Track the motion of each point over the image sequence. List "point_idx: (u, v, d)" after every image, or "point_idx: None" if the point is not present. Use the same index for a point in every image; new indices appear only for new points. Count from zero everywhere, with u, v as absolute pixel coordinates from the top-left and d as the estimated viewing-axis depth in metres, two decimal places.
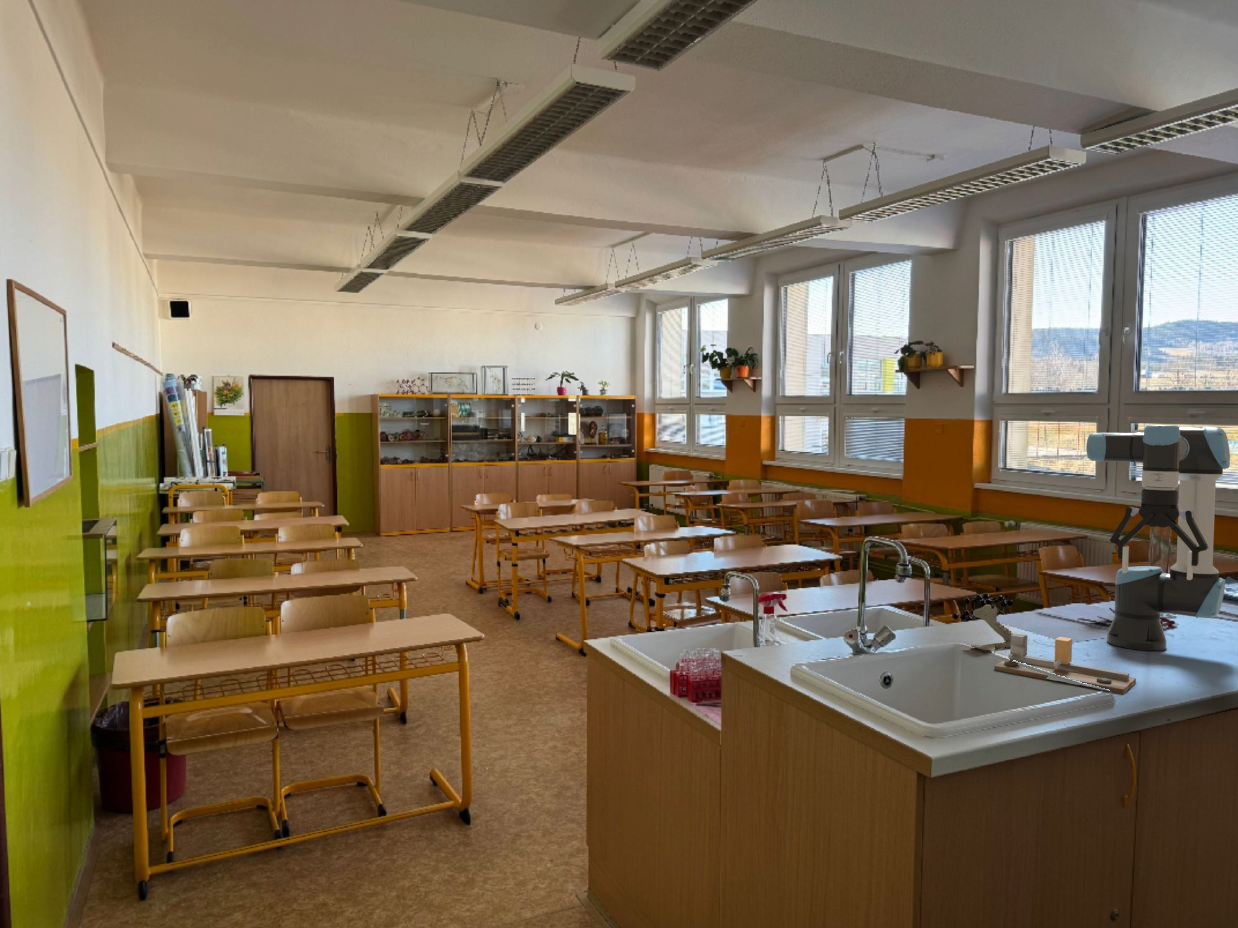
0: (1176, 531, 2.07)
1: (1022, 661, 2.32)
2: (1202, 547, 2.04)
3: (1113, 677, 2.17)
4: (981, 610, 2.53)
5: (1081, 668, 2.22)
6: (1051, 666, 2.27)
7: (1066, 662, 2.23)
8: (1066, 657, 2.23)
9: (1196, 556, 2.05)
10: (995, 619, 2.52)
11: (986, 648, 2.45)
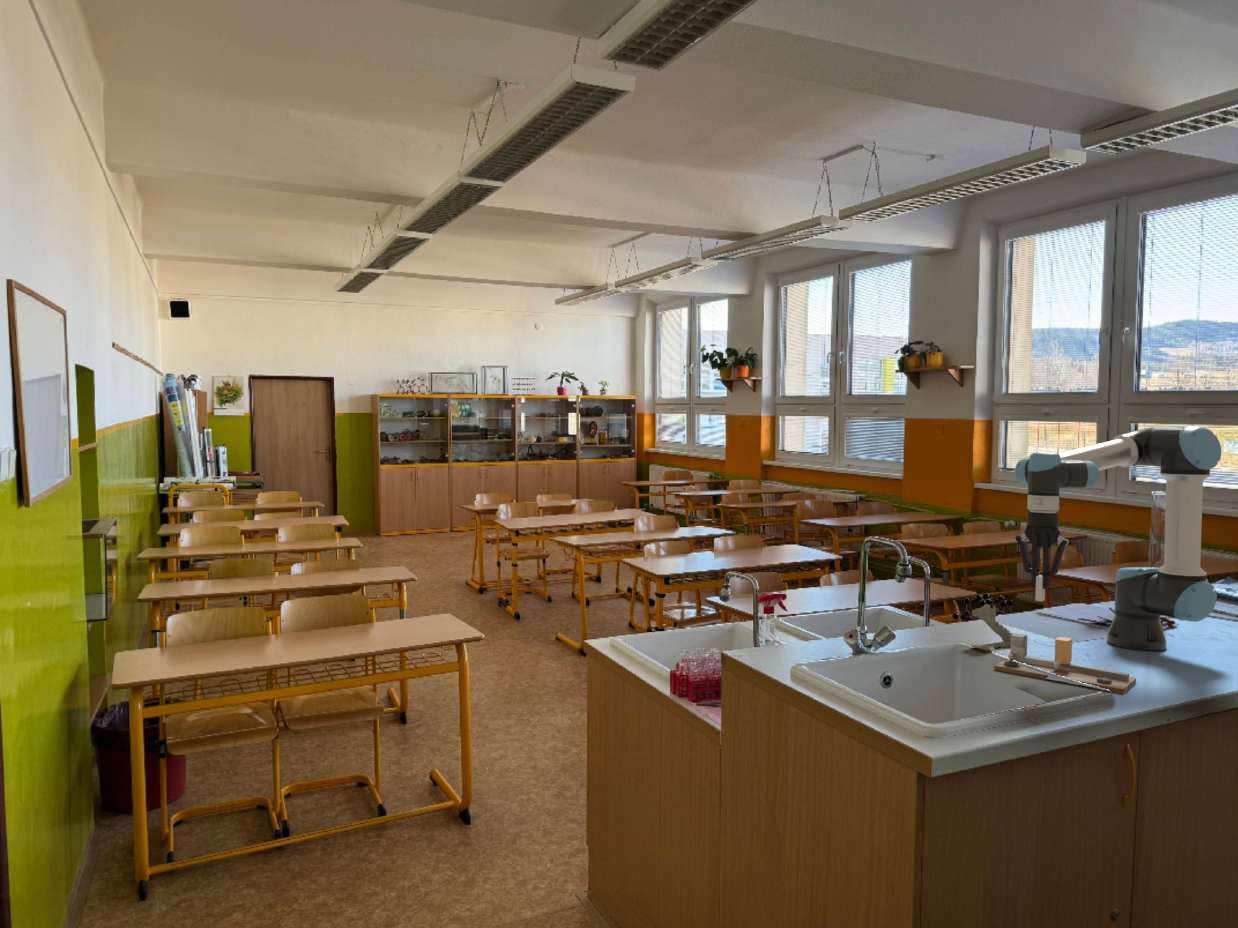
0: (1044, 553, 2.27)
1: (1022, 661, 2.32)
2: (1051, 571, 2.26)
3: (1113, 677, 2.17)
4: (980, 610, 2.53)
5: (1081, 668, 2.22)
6: (1051, 666, 2.27)
7: (1066, 662, 2.23)
8: (1066, 657, 2.23)
9: (1046, 580, 2.27)
10: (994, 619, 2.53)
11: (986, 648, 2.45)
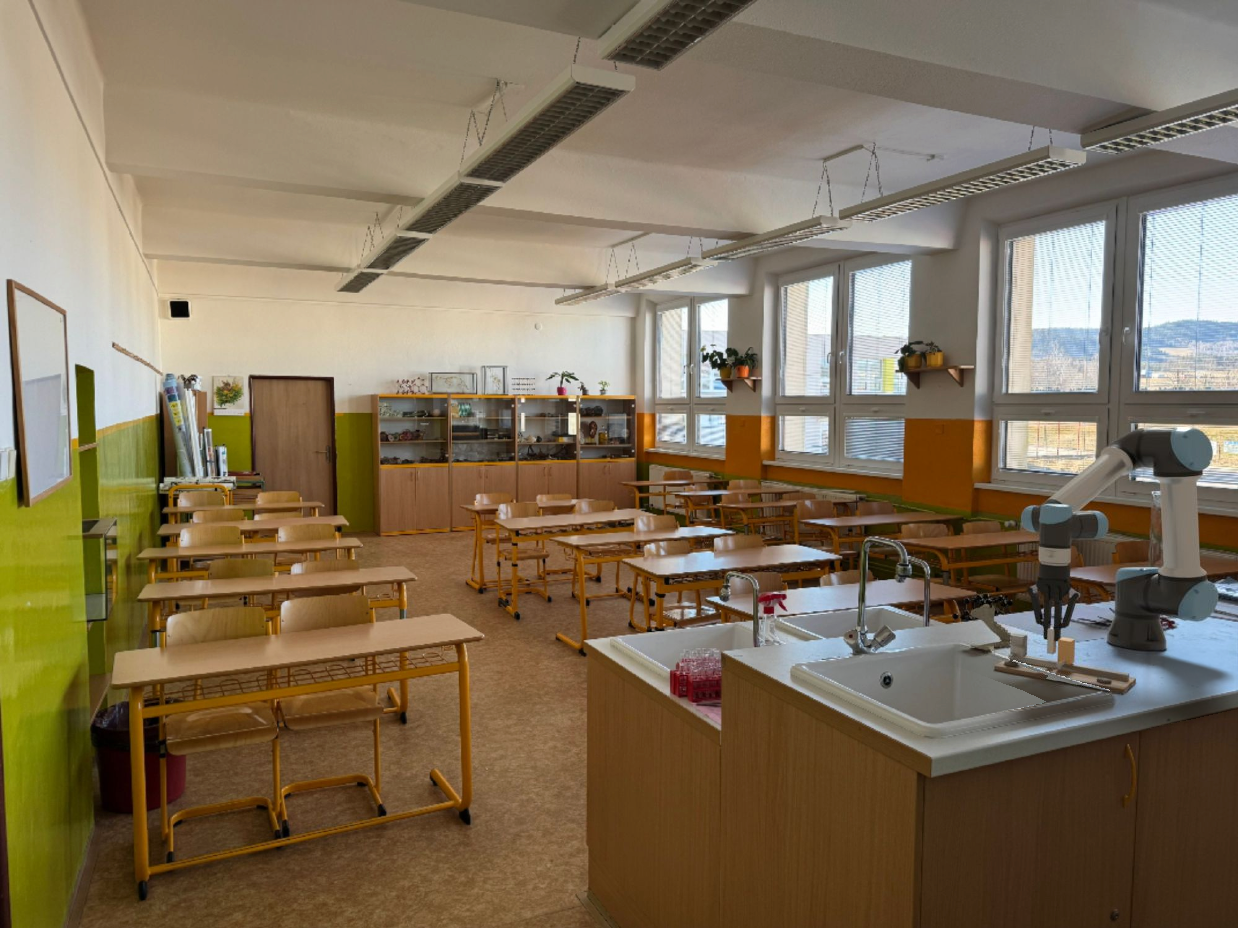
0: (1055, 605, 2.26)
1: (1022, 661, 2.32)
2: (1063, 624, 2.24)
3: (1113, 677, 2.17)
4: (979, 610, 2.53)
5: (1081, 668, 2.22)
6: (1051, 666, 2.27)
7: (1069, 663, 2.23)
8: (1069, 657, 2.23)
9: (1058, 632, 2.26)
10: (992, 618, 2.53)
11: (987, 648, 2.45)
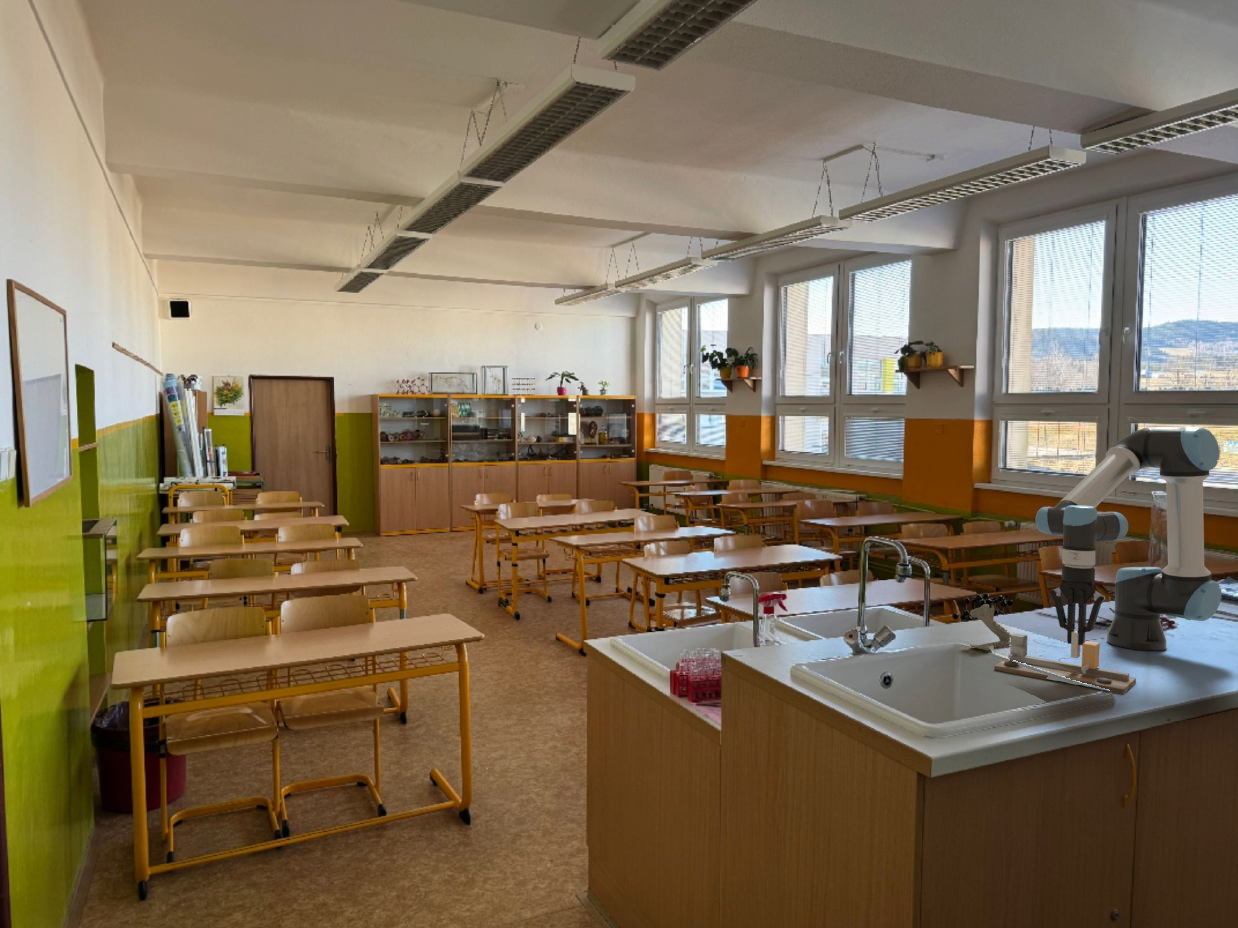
0: (1080, 609, 2.22)
1: (1022, 661, 2.32)
2: (1087, 628, 2.21)
3: (1113, 677, 2.17)
4: (979, 610, 2.53)
5: None
6: (1051, 666, 2.27)
7: (1094, 667, 2.19)
8: (1094, 662, 2.19)
9: (1082, 636, 2.22)
10: (992, 618, 2.53)
11: (987, 648, 2.45)
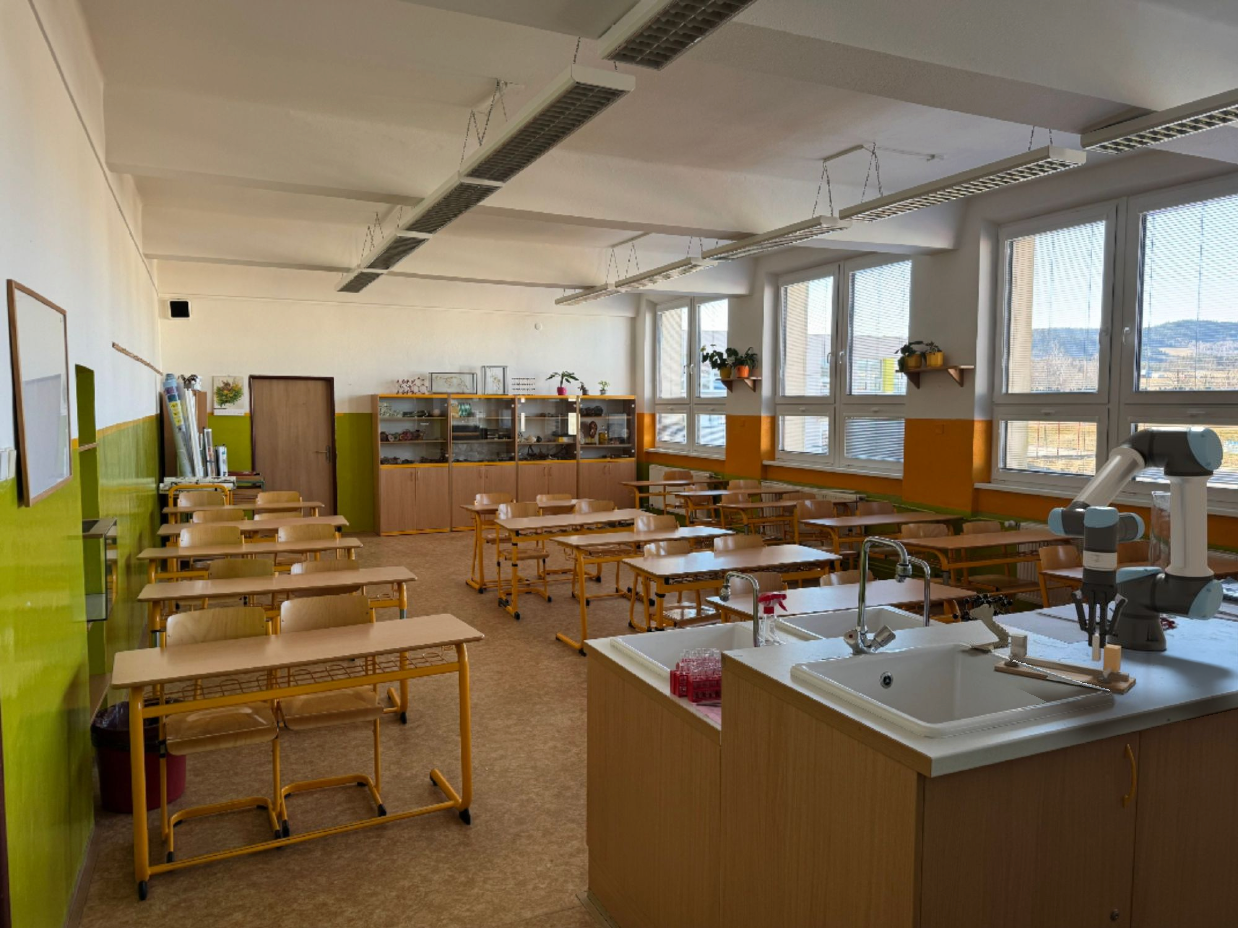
0: (1101, 611, 2.18)
1: (1022, 661, 2.32)
2: (1109, 631, 2.17)
3: (1113, 677, 2.17)
4: (978, 610, 2.53)
5: (1081, 668, 2.22)
6: (1051, 666, 2.27)
7: (1115, 671, 2.16)
8: (1115, 665, 2.16)
9: (1103, 639, 2.19)
10: (991, 618, 2.53)
11: (987, 648, 2.45)
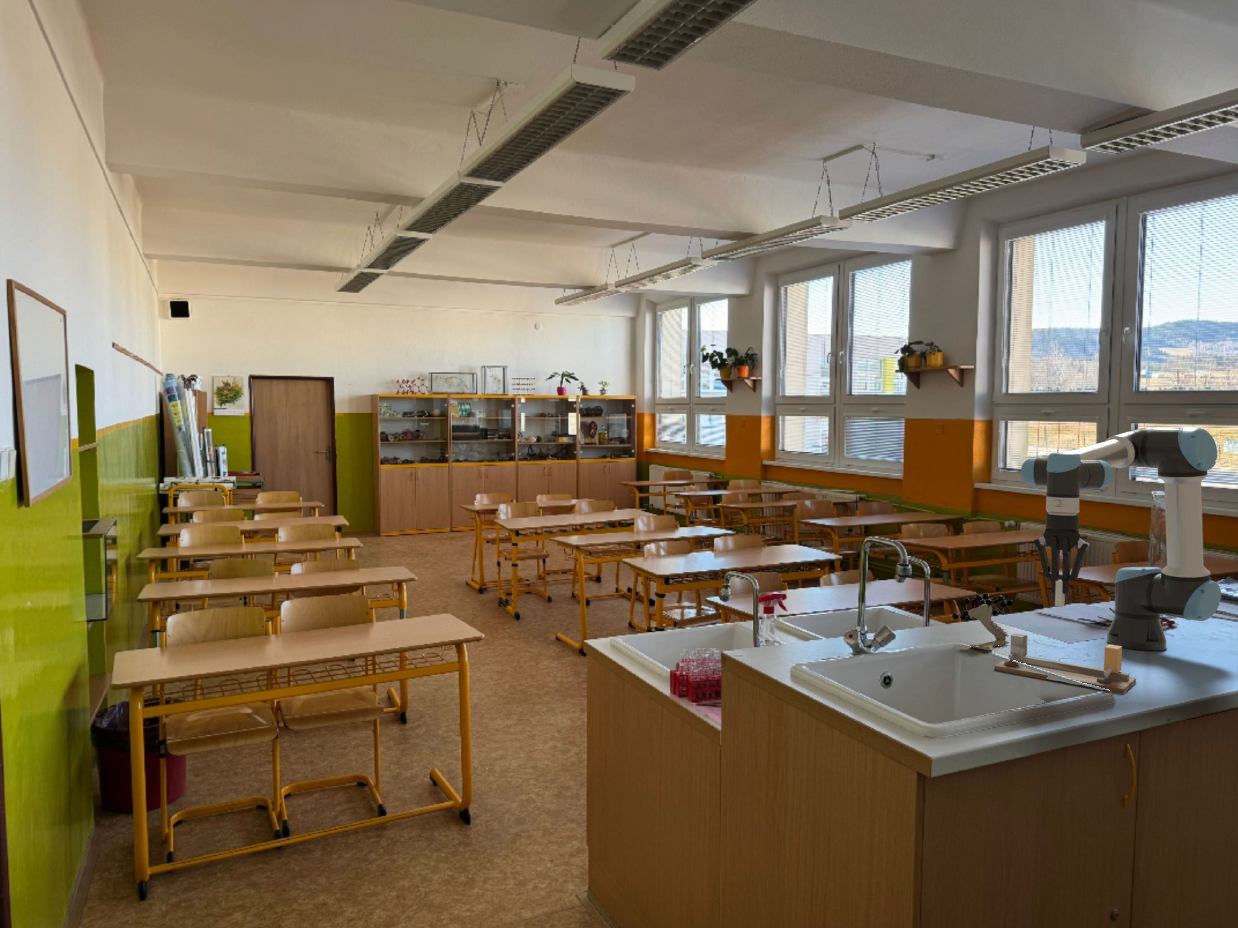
0: (1064, 557, 2.19)
1: (1022, 661, 2.32)
2: (1072, 576, 2.18)
3: (1113, 677, 2.17)
4: (977, 610, 2.53)
5: (1081, 668, 2.22)
6: (1051, 666, 2.27)
7: (1116, 671, 2.16)
8: (1116, 666, 2.16)
9: (1066, 585, 2.19)
10: (989, 618, 2.54)
11: (987, 648, 2.46)
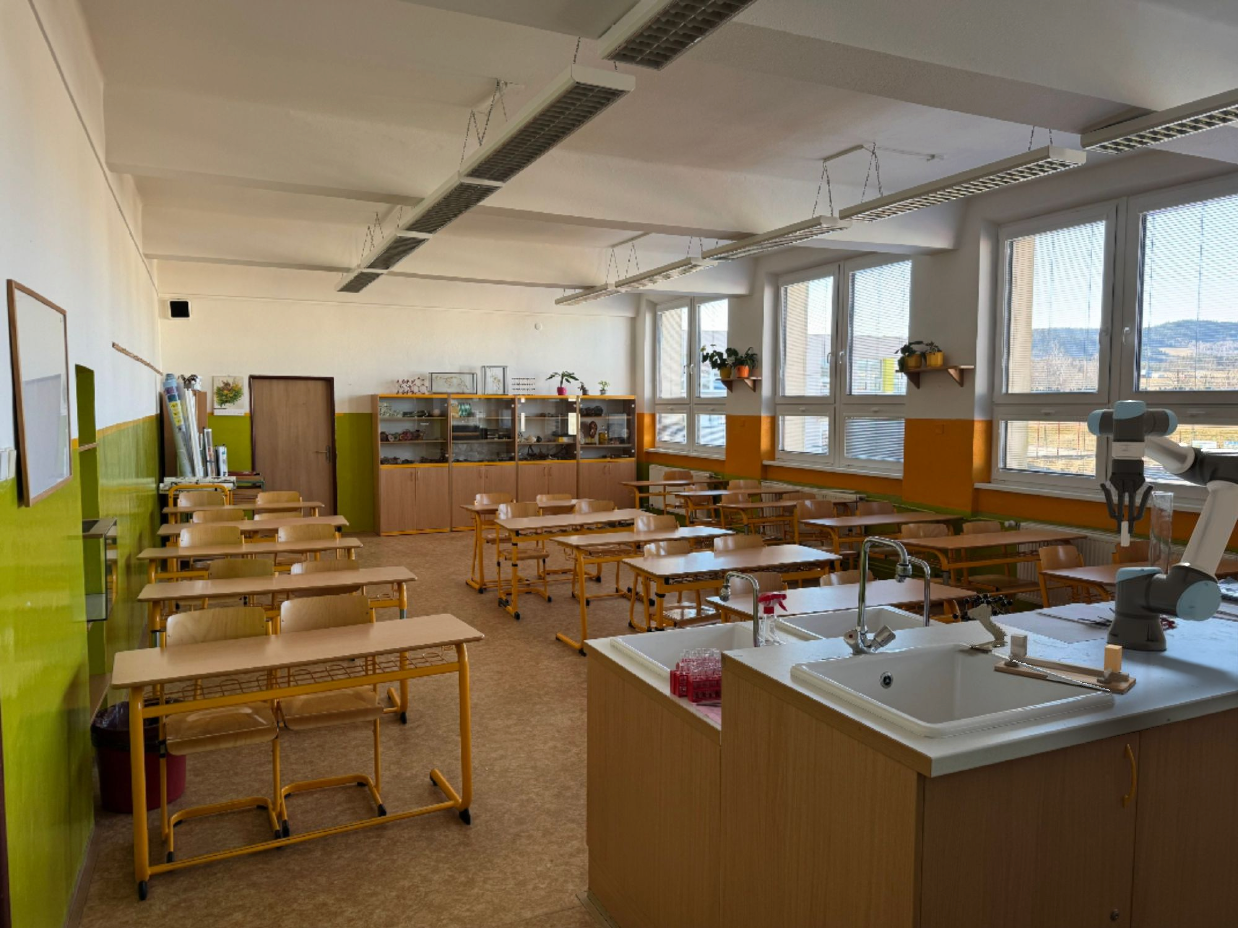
0: (1130, 499, 2.32)
1: (1022, 661, 2.32)
2: (1137, 517, 2.31)
3: (1113, 677, 2.17)
4: (976, 609, 2.53)
5: (1081, 668, 2.22)
6: (1051, 666, 2.27)
7: (1116, 671, 2.16)
8: (1116, 666, 2.16)
9: (1132, 525, 2.32)
10: (989, 618, 2.54)
11: (988, 648, 2.46)
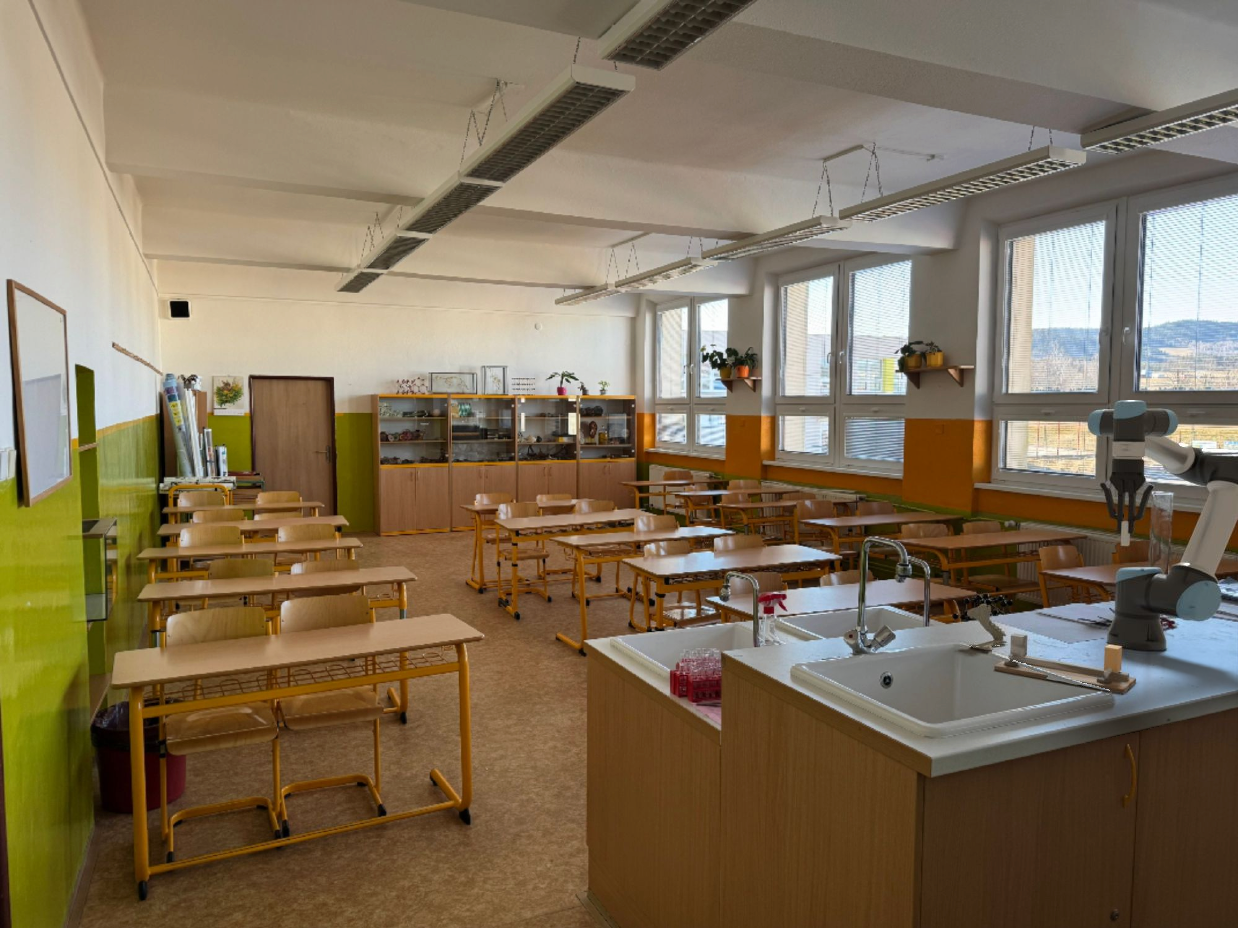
0: (1130, 498, 2.32)
1: (1022, 661, 2.32)
2: (1137, 516, 2.31)
3: (1113, 677, 2.17)
4: (976, 609, 2.54)
5: (1081, 668, 2.22)
6: (1051, 666, 2.27)
7: (1116, 671, 2.16)
8: (1116, 666, 2.16)
9: (1132, 525, 2.32)
10: (988, 618, 2.54)
11: (988, 648, 2.46)
